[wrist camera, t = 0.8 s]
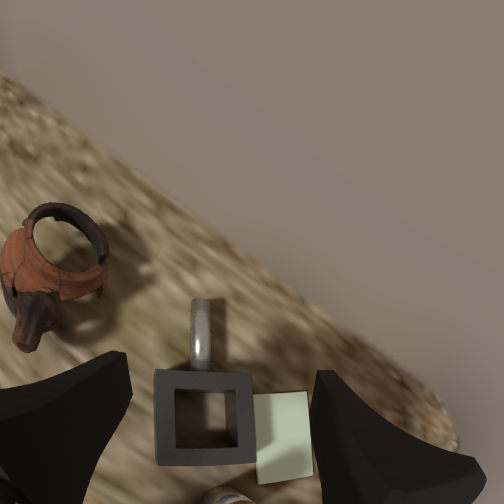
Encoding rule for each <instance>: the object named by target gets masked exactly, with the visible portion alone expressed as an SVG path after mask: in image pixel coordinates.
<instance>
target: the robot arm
mask: <svg viewBox="0 0 504 504" xmlns="http://www.w3.org/2000/svg"><path fill="white" fill-rule="evenodd" d="M132 395H133V392H132V387H131V381H130V375H129V369H128V363H127V356H126V353H124V352H118V351H113V350H112V351H110V352H107V353H105V354H102V355H100V356H98V357H96V358H94V359H92V360H89V361H87V362H85V363H83V364H81V365H79V366H77V367H75V368H72V369H70V370H68V371H65V372H63V373H60V374H58V375H56V376H53V377H50V378H48V379H45V380H42V381H38V382H35V383H31V384H27V385H23V386H17V387H12V388H6V389H0V504H83V501H84V497H85V494H86V491H87V488H88V485H89V482H90V480H91V477H92V474H93V472H94V469H95V467H96V465H97V462H98V460H99V458H100V456H101V454H102V452H103V450H104V449H105V447H106V445H107V444H108V442H109V440H110V439H111V437H112V435H113V434H114V432H115V430H116V429H117V427H118V425H119V423H120V422H121V420H122V418H123V417H124V415H125V413H126V410H127V408H128V406H129V403H130V400H131V398H132ZM309 414H310V429H311V437H312V442H313V447H314V452H315V457H316V461H317V466H318V471H319V476H320V481H321V488H322V502H323V504H471V503H472V502H473V501H474V500H475V499H476V498H477V496H478V495H479V494H480V493H481V491H482V490H483V488H484V486H485V483H486V476H485V474H484V472H483V471H482V469H481V467H480V466H479V464H478V463H477V461H476V460H475V458H474V457H470V456H466V455H462V454H458V453H454V452H450V451H447V450H444V449H441V448H439V447H436V446H433V445H431V444H428V443H426V442H424V441H422V440H420V439H418V438H416V437H414V436H412V435H410V434H408V433H406V432H404V431H403V430H401V429H399V428H398V427H396V426H395V425H393V424H392V423H390V422H389V421H387V420H386V419H384V418H383V417H382V416H380V415H379V414H378V413H377V412H375V411H374V410H373V409H372V408H371V407H369V406H368V405H367V404H366V403H365V402H364V401H363V400H362V399H361V398H360V397H359V396H358V395H357V394H356V393H355V392H354V391H353V390H352V389H351V388H350V387H349V386H348V385H347V384H346V383H345V382H344V381H343V380H342V379H341V378H340V377H339V376H338V375H337V374H336V372H335V371H334V370H317V374H316V379H315V385H314V390H313V396H312V401H311V406H310V411H309Z"/></svg>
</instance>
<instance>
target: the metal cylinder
mask: <svg viewBox="0 0 504 504" xmlns="http://www.w3.org/2000/svg"><path fill="white" fill-rule="evenodd" d="M202 504H257V503H255V502H253V501H252V500H250V499H249V498H247V497H245V496H244V495H242V494H241V493H239V492H238V491H236V490H234V489H233V488H231V487H227V486H218V487H215V488H212V489H211V490H209V491H208V492H207V493H206V494H205V495H204V497H203V501H202Z"/></svg>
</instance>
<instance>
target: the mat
mask: <svg viewBox="0 0 504 504" xmlns="http://www.w3.org/2000/svg"><path fill="white" fill-rule="evenodd" d="M253 408H254V425H255V440H256V456H257V462H256V474H257V484H267V483H273V482H280V481H286V480H291V479H297V478H302V477H307V476H311V475H313V465H312V451H311V437H310V425H309V413H308V401H307V391H306V392H294V393H278V394H256V395H253Z"/></svg>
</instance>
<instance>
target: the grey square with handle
mask: <svg viewBox="0 0 504 504" xmlns="http://www.w3.org/2000/svg"><path fill="white" fill-rule="evenodd" d="M174 392H193V393H225V414H226V434H227V444H225V445H176V439H175V406H174ZM154 439H155V460H156V462H157V465H159V466H213V465H231V464H244V463H255V462H257V456H256V440H255V425H254V408H253V392H252V375H251V373H227V372H211V325H210V301H209V300H208V299H204V298H196V299H193V300H191V316H190V371H177V370H163V369H156V370H155V373H154Z"/></svg>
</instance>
